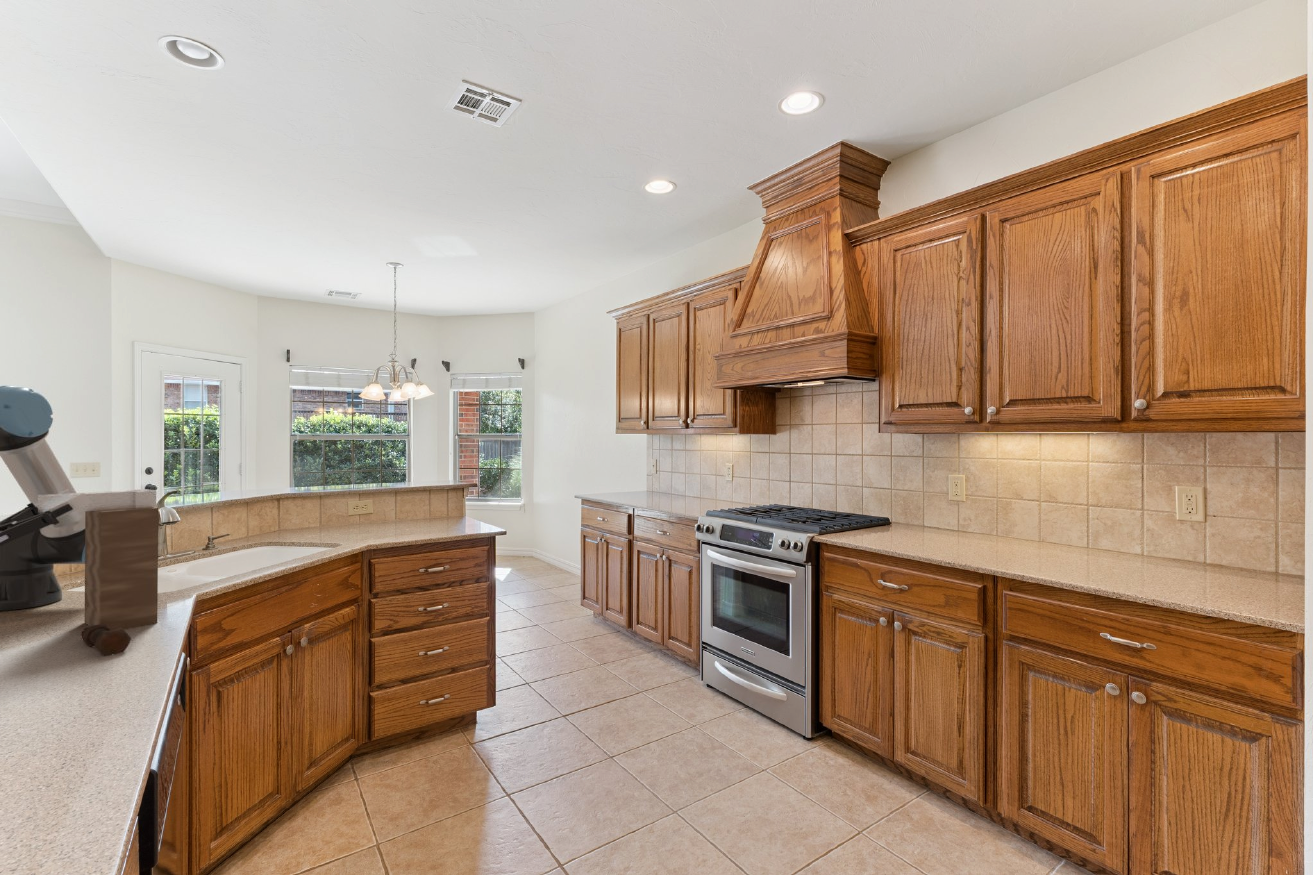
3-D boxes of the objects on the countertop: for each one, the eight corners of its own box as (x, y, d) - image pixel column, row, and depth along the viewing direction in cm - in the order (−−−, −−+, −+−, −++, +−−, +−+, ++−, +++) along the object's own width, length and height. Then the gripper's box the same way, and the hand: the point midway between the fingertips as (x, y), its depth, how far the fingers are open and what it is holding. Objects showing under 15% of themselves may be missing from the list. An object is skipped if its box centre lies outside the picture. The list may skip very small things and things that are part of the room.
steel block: (36, 512, 139) (36, 494, 139) (147, 504, 155) (147, 489, 155) (43, 514, 135) (43, 496, 135) (156, 506, 151) (156, 490, 151)
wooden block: (84, 622, 148) (85, 507, 148) (139, 612, 157) (140, 504, 157) (100, 633, 140) (101, 512, 140) (157, 622, 149) (158, 508, 149)
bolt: (94, 648, 136) (119, 660, 128) (68, 642, 132) (91, 654, 124) (111, 622, 138) (136, 632, 130) (85, 616, 135) (109, 625, 127)
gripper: (-35, 559, 136) (77, 505, 151) (-17, 575, 122) (105, 513, 137) (-61, 532, 133) (56, 479, 148) (-45, 545, 119) (82, 485, 133)
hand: (79, 495), depth 142 cm, fingers open, 13 cm apart
